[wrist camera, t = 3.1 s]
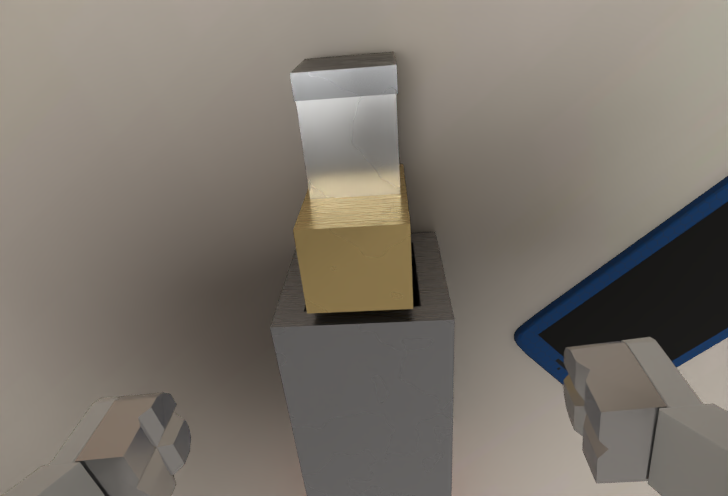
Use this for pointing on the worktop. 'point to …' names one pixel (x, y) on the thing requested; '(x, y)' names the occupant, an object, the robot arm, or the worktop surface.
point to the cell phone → (647, 292)
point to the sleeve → (371, 387)
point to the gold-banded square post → (352, 186)
